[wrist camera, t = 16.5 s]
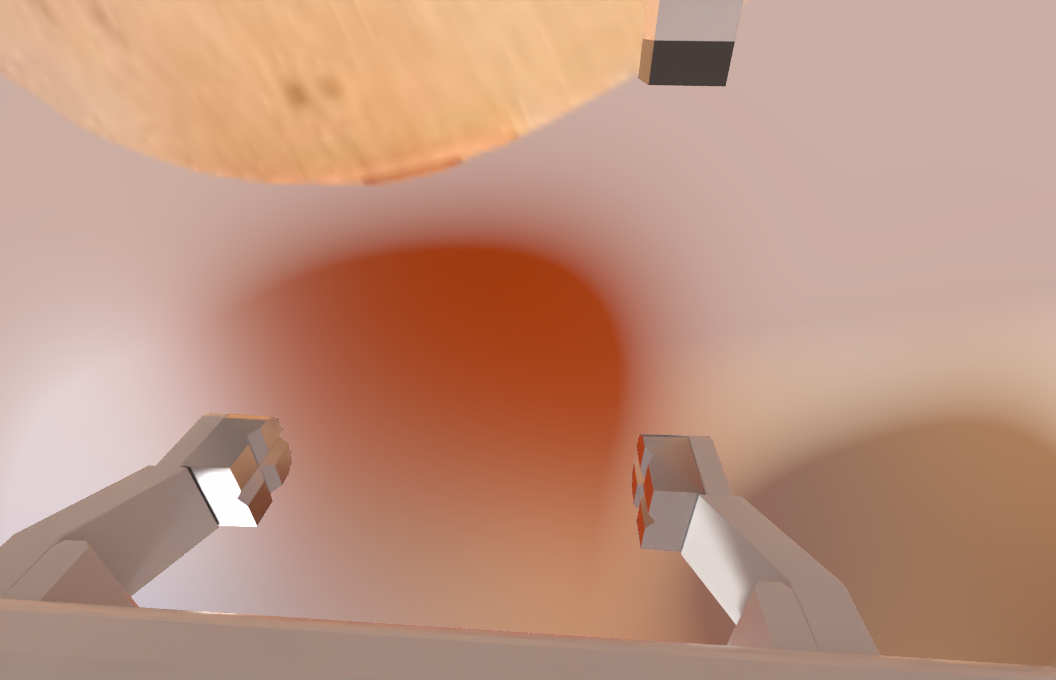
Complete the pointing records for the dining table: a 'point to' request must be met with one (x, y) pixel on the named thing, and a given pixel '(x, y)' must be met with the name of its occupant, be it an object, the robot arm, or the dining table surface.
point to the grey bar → (688, 41)
